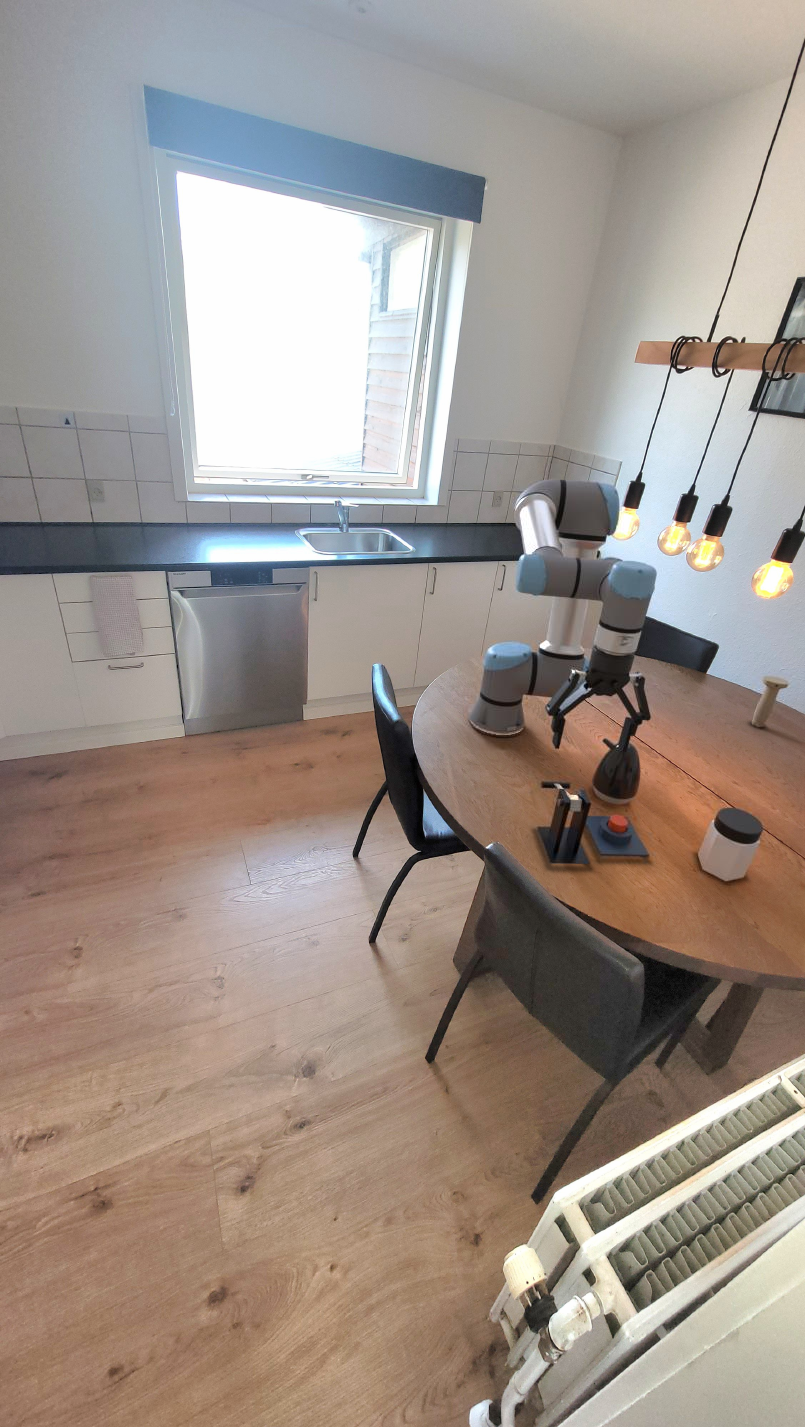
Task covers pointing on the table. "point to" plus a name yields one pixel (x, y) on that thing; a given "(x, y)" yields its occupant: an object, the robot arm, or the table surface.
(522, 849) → the table surface
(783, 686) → the handle
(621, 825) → the button
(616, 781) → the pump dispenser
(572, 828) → the lever stand
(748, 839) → the jar
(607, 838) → the button block
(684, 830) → the table surface
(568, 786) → the tap lever
